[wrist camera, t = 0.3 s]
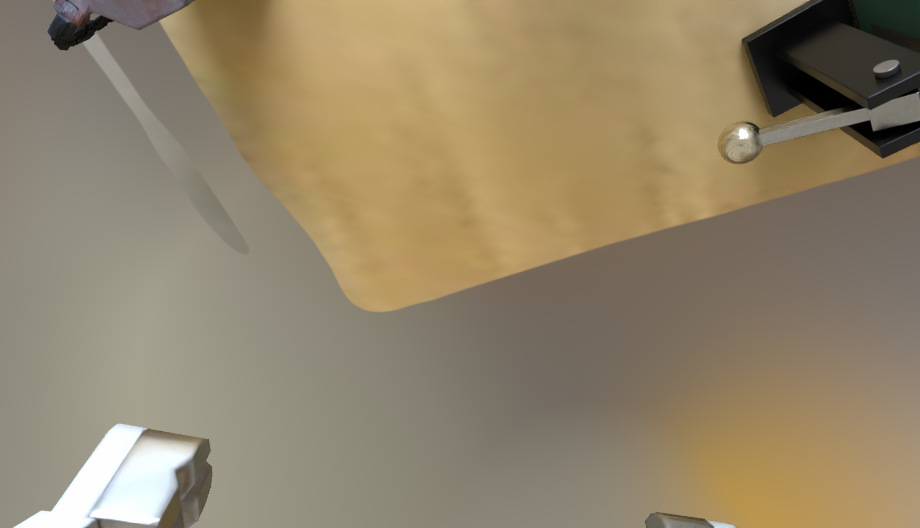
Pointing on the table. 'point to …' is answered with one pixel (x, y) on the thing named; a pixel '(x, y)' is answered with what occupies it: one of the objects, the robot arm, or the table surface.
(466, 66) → the table surface
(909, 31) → the toaster
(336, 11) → the table surface
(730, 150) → the lever
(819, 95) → the lever bracket
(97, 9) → the moka pot
